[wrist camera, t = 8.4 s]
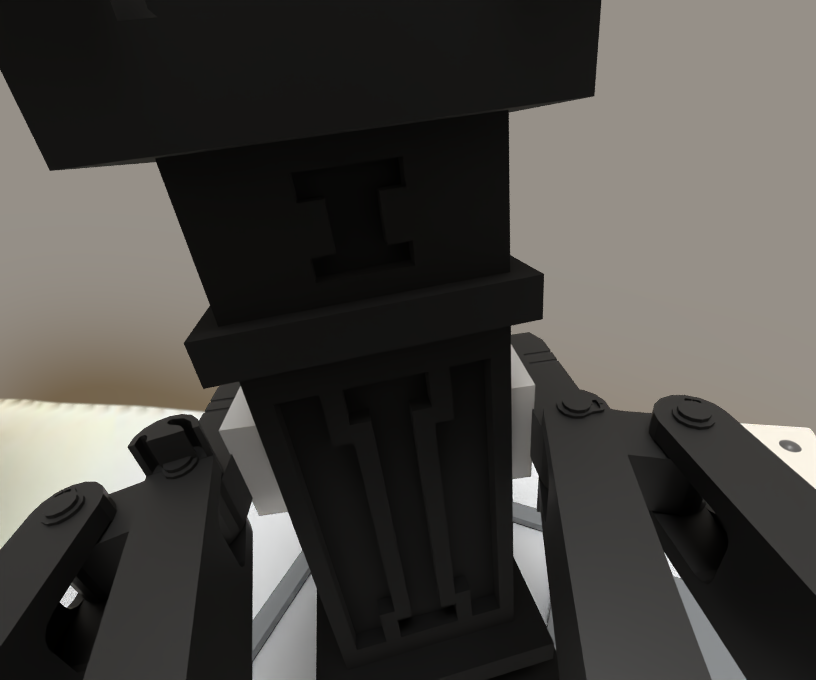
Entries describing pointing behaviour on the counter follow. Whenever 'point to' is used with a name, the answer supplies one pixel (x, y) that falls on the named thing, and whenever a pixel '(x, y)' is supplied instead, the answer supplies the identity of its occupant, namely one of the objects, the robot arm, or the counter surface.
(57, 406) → the counter surface
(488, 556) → the chess piece
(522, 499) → the counter surface
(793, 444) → the die
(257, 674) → the counter surface
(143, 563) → the robot arm
